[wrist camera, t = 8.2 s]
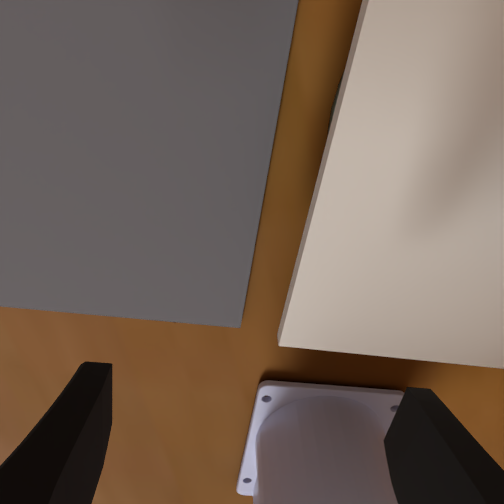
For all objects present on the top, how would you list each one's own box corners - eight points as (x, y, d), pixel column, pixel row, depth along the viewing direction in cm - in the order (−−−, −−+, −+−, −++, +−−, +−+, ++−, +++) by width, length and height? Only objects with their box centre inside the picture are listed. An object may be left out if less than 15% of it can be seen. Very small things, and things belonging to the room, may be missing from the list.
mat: (240, 321, 23) (240, 327, 23) (-143, 285, 21) (-151, 292, 21) (317, -119, 14) (319, -121, 14) (-317, -243, 13) (-336, -251, 12)
